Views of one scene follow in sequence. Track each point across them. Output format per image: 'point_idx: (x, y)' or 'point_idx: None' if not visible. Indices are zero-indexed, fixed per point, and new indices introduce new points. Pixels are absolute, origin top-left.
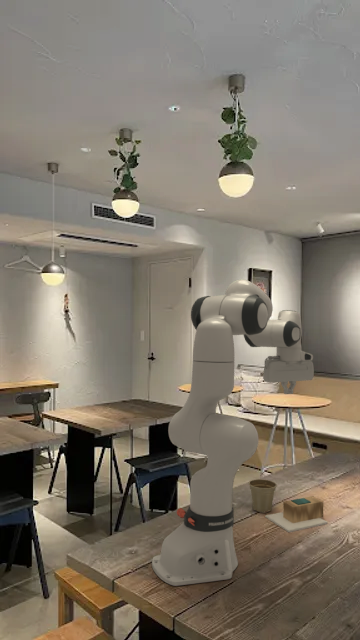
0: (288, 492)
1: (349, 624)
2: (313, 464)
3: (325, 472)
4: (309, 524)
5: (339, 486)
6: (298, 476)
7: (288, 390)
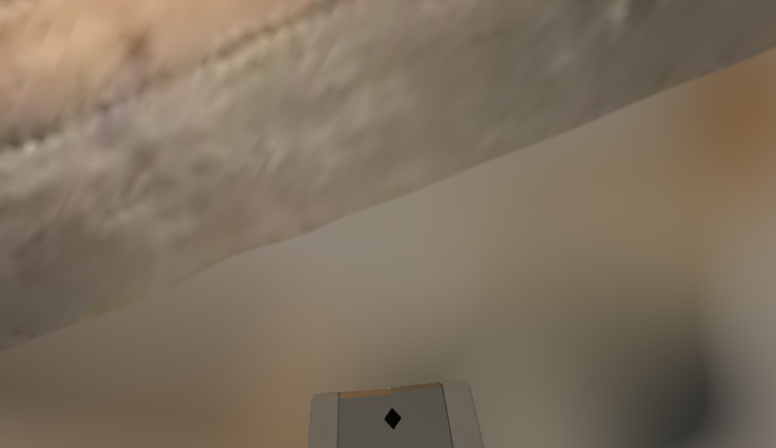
0: (329, 46)
1: None
2: (63, 291)
3: (45, 205)
4: None
5: (46, 35)
6: (190, 196)
7: (437, 438)
